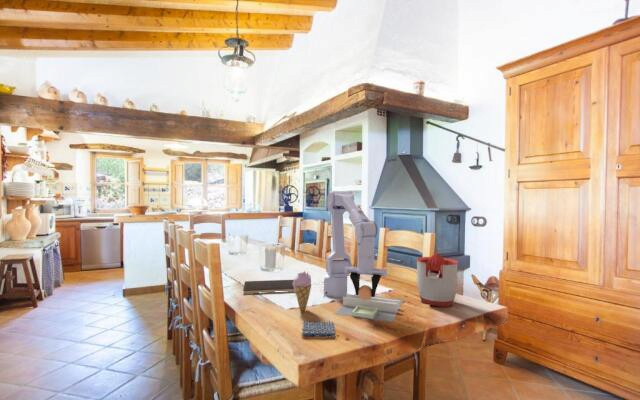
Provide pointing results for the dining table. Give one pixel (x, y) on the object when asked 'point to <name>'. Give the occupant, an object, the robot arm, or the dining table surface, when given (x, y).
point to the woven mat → (318, 330)
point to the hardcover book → (267, 286)
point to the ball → (365, 292)
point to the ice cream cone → (302, 289)
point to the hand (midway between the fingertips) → (365, 295)
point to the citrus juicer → (437, 280)
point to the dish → (365, 312)
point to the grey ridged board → (384, 305)
